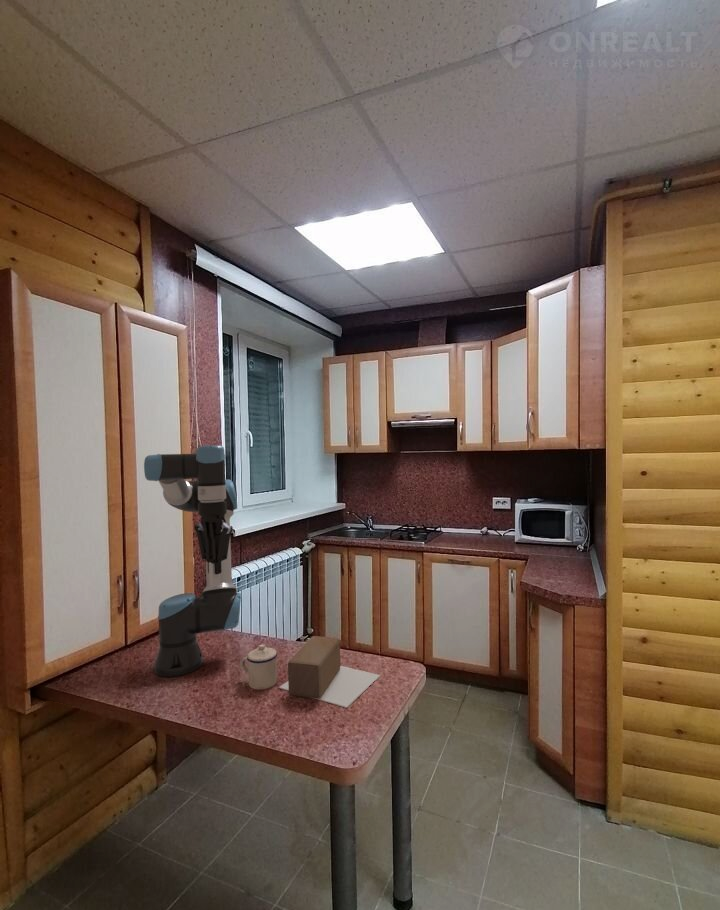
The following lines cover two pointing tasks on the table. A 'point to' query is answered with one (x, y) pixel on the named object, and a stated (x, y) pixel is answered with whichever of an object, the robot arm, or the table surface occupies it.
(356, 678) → the mat
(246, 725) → the table surface
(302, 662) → the block
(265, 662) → the teacup with lid
